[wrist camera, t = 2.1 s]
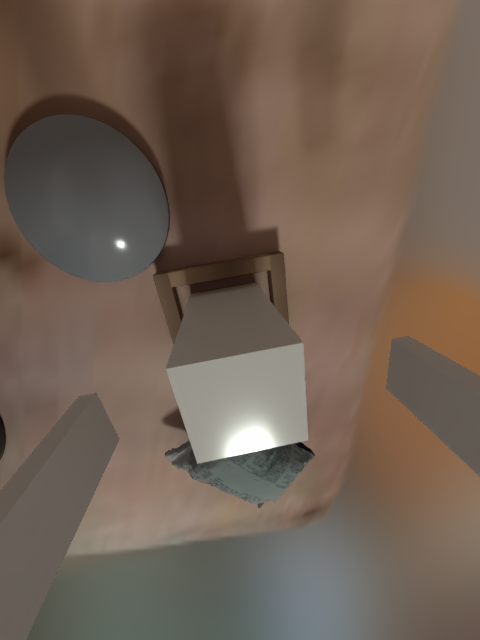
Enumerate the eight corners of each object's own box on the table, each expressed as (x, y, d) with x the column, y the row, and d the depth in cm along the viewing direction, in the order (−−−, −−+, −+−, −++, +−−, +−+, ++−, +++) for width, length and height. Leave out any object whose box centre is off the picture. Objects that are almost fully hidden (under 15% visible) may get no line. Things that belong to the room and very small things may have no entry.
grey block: (204, 350, 19) (197, 463, 10) (191, 294, 17) (165, 368, 8) (262, 339, 19) (308, 440, 10) (255, 282, 17) (303, 342, 8)
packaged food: (253, 481, 26) (262, 533, 22) (167, 437, 22) (156, 490, 18) (308, 434, 25) (330, 480, 20) (224, 378, 21) (228, 419, 16)
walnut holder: (186, 374, 20) (185, 383, 19) (156, 272, 16) (152, 275, 15) (287, 355, 20) (291, 362, 19) (278, 251, 17) (283, 252, 16)
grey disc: (57, 289, 16) (50, 292, 15) (-18, 132, 13) (-32, 126, 12) (184, 267, 16) (183, 269, 16) (145, 110, 13) (141, 103, 12)
